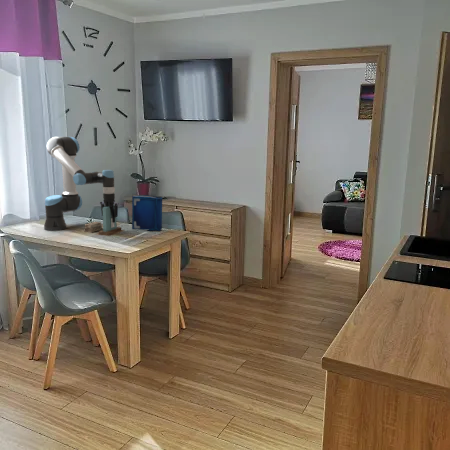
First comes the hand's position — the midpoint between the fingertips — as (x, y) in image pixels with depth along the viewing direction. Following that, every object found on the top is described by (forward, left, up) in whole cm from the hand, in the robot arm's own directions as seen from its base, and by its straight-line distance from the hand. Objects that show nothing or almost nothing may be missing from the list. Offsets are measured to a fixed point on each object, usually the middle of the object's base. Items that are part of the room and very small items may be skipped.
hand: (110, 226), depth 305 cm
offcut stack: (-14, 0, -5) cm, 15 cm away
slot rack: (0, 0, -5) cm, 5 cm away
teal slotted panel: (0, 0, -4) cm, 4 cm away
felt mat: (+13, 0, -5) cm, 14 cm away
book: (+17, +22, -5) cm, 28 cm away
